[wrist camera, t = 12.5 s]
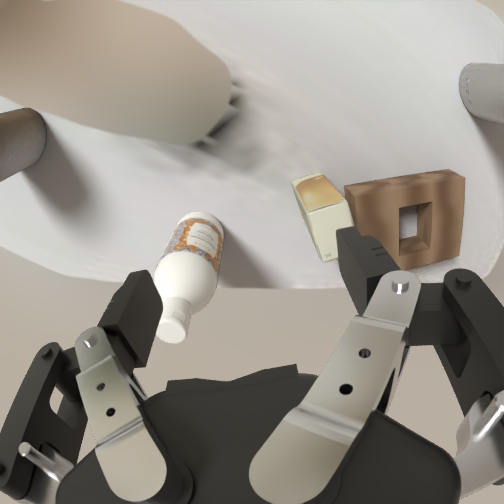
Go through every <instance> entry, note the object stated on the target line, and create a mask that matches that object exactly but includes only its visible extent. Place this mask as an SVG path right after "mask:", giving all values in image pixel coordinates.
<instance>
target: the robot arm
mask: <svg viewBox="0 0 504 504" xmlns="http://www.w3.org/2000/svg"><path fill="white" fill-rule="evenodd" d="M459 85H460V93H461V97H462V100H463V103H464V105H465V107H466V108H467V109H468V111H469V112H470V113H471V114H472V115H473V116H475V117H477V118H480V119H484V120H488V121H492V122H495V123H499V124H502V125H504V64H490V63H472V64H469V65H467V66H466V67H465V68H464V69H463V71H462V73H461V76H460V83H459ZM336 240H337V250H338V261H339V268H340V272H341V276H342V278H343V280H344V283H345V285H346V287H347V289H348V291H349V294H350V296H351V298H352V300H353V302H354V305H355V307H356V309H357V311H358V314H359V315H356V316H355V317H354V318H353V320H352V321H351V323H350V324H349V326H348V328H347V330H346V332H345V333H344V335H343V337H342V339H341V340H340V342H339V344H338V345H337V347H336V349H335V350H334V352H333V354H332V356H331V357H330V359H329V360H328V362H327V364H326V365H325V367H324V368H323V370H322V372H321V373H320V375H319V376H317V375H313V374H301V373H298V370H297V365H296V364H293V365H287V366H282V367H276V368H271V369H264V370H261V371H258V372H255V373H252V374H250V375H247V376H244V377H241V378H238V379H235V380H232V381H227V382H226V381H216V380H206V379H198V378H195V379H184V380H171V381H168V383H167V387H166V391H163V392H160V393H157V394H155V395H153V396H152V397H150V398H148V396H147V395H146V393H145V391H144V390H143V388H142V386H141V384H140V382H139V381H138V379H137V377H136V376H135V374H134V373H133V369H134V368H140V367H141V368H142V367H146V364H147V360H148V357H149V354H150V351H151V347H152V343H153V341H154V337H155V334H156V331H157V328H158V325H159V322H160V319H161V316H162V313H163V302H162V299H161V296H160V294H159V292H158V290H157V288H156V286H155V284H154V282H153V279H152V277H151V275H150V273H149V272H148V271H147V270H141V271H136V272H132V273H130V274H129V275H128V277H127V279H126V281H125V282H124V284H123V286H121V287H120V289H119V290H117V292H116V293H115V294H114V296H113V297H112V300H111V302H110V303H109V305H108V306H107V309H106V310H105V312H104V314H103V316H102V318H101V320H100V321H99V323H98V325H97V327H92V328H89V329H87V330H86V331H84V332H83V333H82V334H81V335H80V336H79V337H78V338H77V340H76V342H75V347H73V348H70V349H67V350H65V351H63V350H62V348H61V347H60V346H59V344H58V343H56V342H52V343H48V344H47V345H45V346H44V347H42V348H41V349H40V350H39V352H38V353H37V354H36V356H35V358H34V360H33V362H32V364H31V366H30V368H29V370H28V372H27V374H26V376H25V378H24V380H23V382H22V384H21V386H20V388H19V390H18V392H17V395H16V397H15V399H14V401H13V404H12V406H11V408H10V410H9V413H8V415H7V418H6V420H5V422H4V425H3V427H2V430H1V433H0V491H2V492H4V493H5V494H7V495H8V496H10V497H11V498H12V499H13V500H15V501H17V502H19V503H20V504H458V503H459V500H460V499H462V498H464V497H467V496H469V495H471V494H473V493H475V492H477V491H479V490H481V489H483V488H485V487H487V486H489V485H491V484H493V485H502V484H504V307H503V306H502V304H501V303H500V302H499V300H498V299H497V298H496V297H495V296H494V294H493V293H492V292H491V290H490V289H489V288H488V287H487V286H486V284H485V283H484V282H483V281H482V279H481V278H480V277H479V276H478V275H477V274H476V273H474V272H472V271H470V270H467V269H453V270H450V271H448V272H447V273H446V274H445V276H444V282H443V283H421V281H420V279H419V278H418V277H417V276H416V275H415V274H413V273H411V272H408V271H402V270H401V269H400V268H399V266H398V265H397V264H396V262H395V261H394V260H393V258H392V257H391V256H390V254H388V252H387V251H386V249H385V248H383V245H382V244H381V243H380V242H379V240H377V239H375V238H374V237H372V236H370V235H366V236H361V234H360V233H359V232H358V230H357V229H356V228H355V226H350V227H346V228H341V229H337V230H336ZM419 345H420V346H421V345H433V346H434V348H435V350H436V352H437V354H438V356H439V358H440V360H441V363H442V365H443V367H444V369H445V371H446V373H447V376H448V378H449V380H450V383H451V385H452V387H453V390H454V392H455V394H456V397H457V399H458V402H459V404H460V406H461V409H462V411H463V414H464V417H465V418H464V419H463V421H462V422H461V424H460V426H459V428H458V431H457V435H456V438H457V445H458V447H457V448H458V450H457V454H456V457H455V458H452V457H451V456H450V454H449V453H447V452H446V451H445V450H444V449H442V448H441V447H439V446H437V445H435V444H434V443H432V442H430V441H428V440H427V439H425V438H423V437H422V436H420V435H418V434H416V433H415V432H413V431H411V430H410V429H408V428H407V427H405V426H403V425H402V424H400V423H398V422H397V421H395V420H393V419H392V418H390V417H389V416H387V415H386V414H387V412H388V410H389V407H390V405H391V402H392V399H393V396H394V393H395V390H396V387H397V385H398V382H399V379H400V377H401V374H402V371H403V369H404V366H405V363H406V360H407V358H408V355H409V352H410V349H411V346H419ZM54 387H56V388H57V389H58V390H59V391H60V392H61V393H62V394H63V395H64V396H63V399H62V401H61V404H60V407H59V410H58V413H57V414H55V413H54V412H53V411H52V409H51V407H50V403H49V401H50V397H51V394H52V392H53V389H54ZM88 420H89V423H90V426H91V428H92V431H93V434H94V437H95V440H96V443H97V446H96V447H95V448H94V449H93V450H92V451H91V452H90V453H89V454H88V455H86V456H85V457H84V458H83V459H82V460H81V461H80V462H79V463H78V464H77V460H78V456H79V451H80V447H81V443H82V440H83V436H84V432H85V428H86V424H87V421H88ZM76 464H77V465H76Z"/></svg>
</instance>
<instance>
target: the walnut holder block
mask: <svg viewBox="0 0 504 504" xmlns="http://www.w3.org/2000/svg"><path fill="white" fill-rule="evenodd" d="M344 190H345V198H346V200H347V202H348V206H349V209H350V212H351V216H352V220H353V224H354V226H355V228H356V229H357V230H358V232H359V233H360V234H361V236H366V235H370V236H372V237H374V238H375V239H377V240H379V242H380V243H381V244H382V245H383V248H385V249H386V251H387V252H388V254H390V256H391V257H392V258H393V260H394V261H395V262H396V264H397V265H398V266H399V268H400V269H401V270H402V271H405V270H409V269H413V268H416V267H420V266H424V265H428V264H431V263H435V262H439V261H442V260H446V259H449V258H453V257H456V256H459V252H460V244H461V236H462V226H463V215H464V200H465V177H463V176H461V175H459V174H457V173H455V172H453V171H451V170H449V169H447V170H440V171H433V172H426V173H419V174H412V175H406V176H399V177H393V178H387V179H381V180H375V181H369V182H363V183H357V184H352V185H346V186H344ZM416 204H418V220H417V236H413V237H409V238H404V239H400V240H399V208H401V207H406V206H411V205H416Z"/></svg>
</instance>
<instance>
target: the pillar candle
mask: <svg viewBox="0 0 504 504" xmlns="http://www.w3.org/2000/svg"><path fill="white" fill-rule="evenodd" d="M45 143H46V128H45V125H44V122H43V120H42V118H41V116H40V115H39V114H38V113H37V112H36V111H35V110H33V109H31V108H22V109H18V110H14V111H9V112H4V113H0V182H1V181H3V180H5V179H7V178H8V177H10V176H12V175H14V174H16V173H18V172H19V171H21V170H23V169H25V168H27V167H29V166H31V165H33V164H34V163H36V162H37V161H38V159H39V158H40V156H41V154H42V152H43V150H44V147H45Z"/></svg>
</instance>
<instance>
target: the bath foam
mask: <svg viewBox="0 0 504 504" xmlns="http://www.w3.org/2000/svg"><path fill="white" fill-rule="evenodd" d="M223 239H224V233H223V229H222V226H221V224H220V223H219V222H218V220H217V219H215V218H214V217H213V216H211V215H209V214H207V213H203V212H194V213H190V214H187V215H186V216H184V217H183V218H182V219H181V220H180V221H179V223H178V224H177V226H176V228H175V230H174V232H173V234H172V236H171V238H170V240H169V242H168V244H167V246H166V248H165V250H164V252H163V254H162V256H161V258H160V261H159V263H158V265H157V267H156V270H155V275H154V284H155V286H156V288H157V290H158V292H159V294H160V296H161V299H162V302H163V313H162V316H161V319H160V322H159V325H158V328H157V331H156V334H157V336H158V337H159V338H160V339H162V340H163V341H165V342H167V343H171V344H177V343H180V342H182V341H184V340H185V338H186V337H187V333H188V328H189V324H190V319H191V315H193V314H195V313H197V312H199V311H200V310H202V309H203V308H204V307H205V306H206V305H207V304H208V303H209V302H210V300H211V299H212V297H213V295H214V293H215V290H216V287H217V282H218V275H219V268H220V261H221V254H222V247H223Z"/></svg>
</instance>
